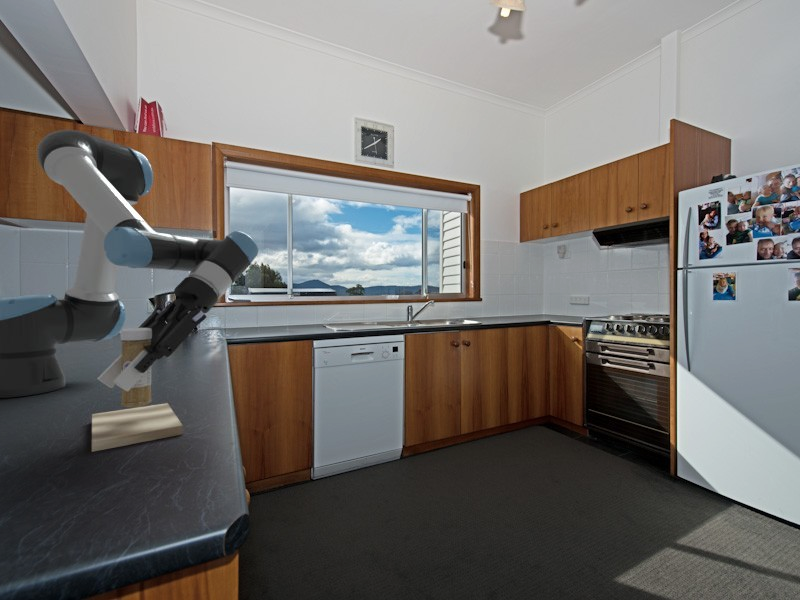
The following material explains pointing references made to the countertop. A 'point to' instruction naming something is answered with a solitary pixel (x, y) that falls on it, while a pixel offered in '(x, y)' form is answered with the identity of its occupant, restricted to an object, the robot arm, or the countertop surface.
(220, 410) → the countertop surface
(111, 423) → the birch board
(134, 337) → the sprinkles bottle
